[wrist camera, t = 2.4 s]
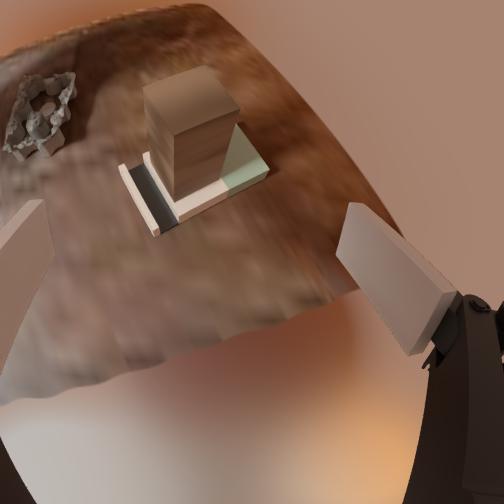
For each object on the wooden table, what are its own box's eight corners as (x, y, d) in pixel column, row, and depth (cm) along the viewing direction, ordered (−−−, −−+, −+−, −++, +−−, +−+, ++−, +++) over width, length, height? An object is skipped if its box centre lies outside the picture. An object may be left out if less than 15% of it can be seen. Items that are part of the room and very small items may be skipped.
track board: (121, 176, 27) (118, 166, 25) (227, 127, 31) (230, 115, 29) (154, 237, 27) (152, 230, 25) (264, 178, 30) (269, 169, 29)
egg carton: (34, 91, 27) (24, 70, 24) (85, 85, 29) (79, 62, 25) (6, 164, 25) (-10, 145, 21) (61, 160, 26) (49, 138, 23)
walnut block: (150, 163, 26) (142, 87, 17) (194, 142, 28) (205, 65, 18) (174, 202, 26) (173, 135, 16) (219, 179, 27) (240, 108, 18)
